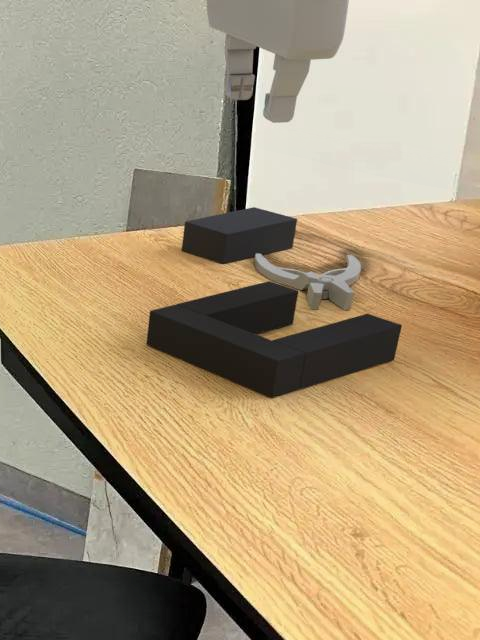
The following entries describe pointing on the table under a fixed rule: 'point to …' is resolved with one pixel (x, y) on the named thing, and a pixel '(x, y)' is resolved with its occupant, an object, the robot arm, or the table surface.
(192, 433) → the table surface
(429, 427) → the table surface
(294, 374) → the black u-shaped frame
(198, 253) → the black block
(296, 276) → the pliers
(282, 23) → the robot arm
